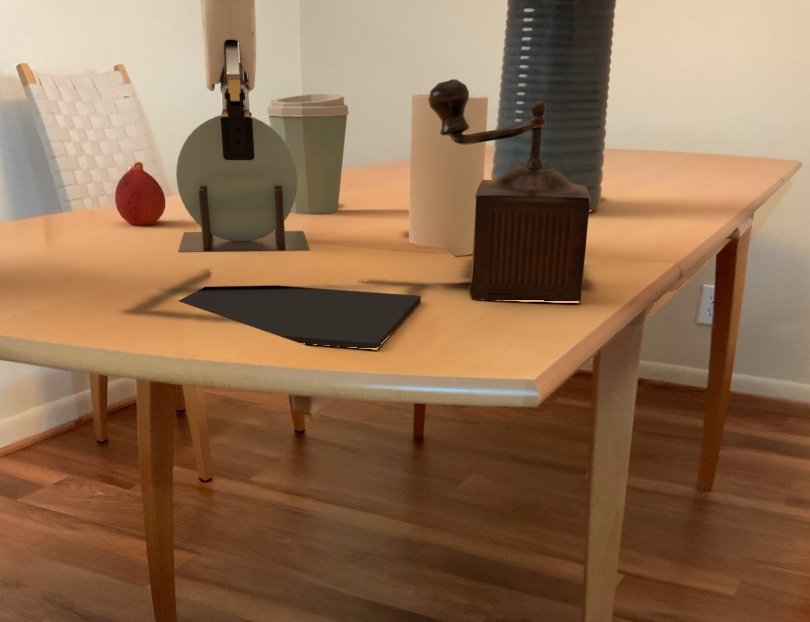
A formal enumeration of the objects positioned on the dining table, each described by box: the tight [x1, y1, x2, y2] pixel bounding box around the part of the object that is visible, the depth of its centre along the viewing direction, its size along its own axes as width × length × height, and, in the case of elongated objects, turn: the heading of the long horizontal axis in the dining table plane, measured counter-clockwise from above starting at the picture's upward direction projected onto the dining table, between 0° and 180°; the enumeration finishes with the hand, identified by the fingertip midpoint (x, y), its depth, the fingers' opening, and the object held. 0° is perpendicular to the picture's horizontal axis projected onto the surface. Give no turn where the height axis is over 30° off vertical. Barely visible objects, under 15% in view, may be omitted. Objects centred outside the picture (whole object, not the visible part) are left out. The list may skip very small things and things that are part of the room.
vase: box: [490, 0, 617, 211], centre depth 128 cm, size 16×16×32 cm
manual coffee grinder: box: [428, 78, 590, 302], centre depth 85 cm, size 16×11×18 cm
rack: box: [177, 185, 311, 253], centre depth 102 cm, size 12×14×7 cm
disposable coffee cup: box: [266, 93, 350, 215], centre depth 120 cm, size 11×11×15 cm
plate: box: [175, 113, 298, 242], centre depth 100 cm, size 1×13×13 cm, turn 99°
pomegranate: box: [114, 161, 166, 227], centre depth 110 cm, size 6×6×8 cm
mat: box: [178, 284, 422, 348], centre depth 78 cm, size 20×16×1 cm
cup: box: [408, 93, 489, 257], centre depth 102 cm, size 8×8×16 cm
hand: (239, 154), depth 99 cm, fingers open, 7 cm apart
